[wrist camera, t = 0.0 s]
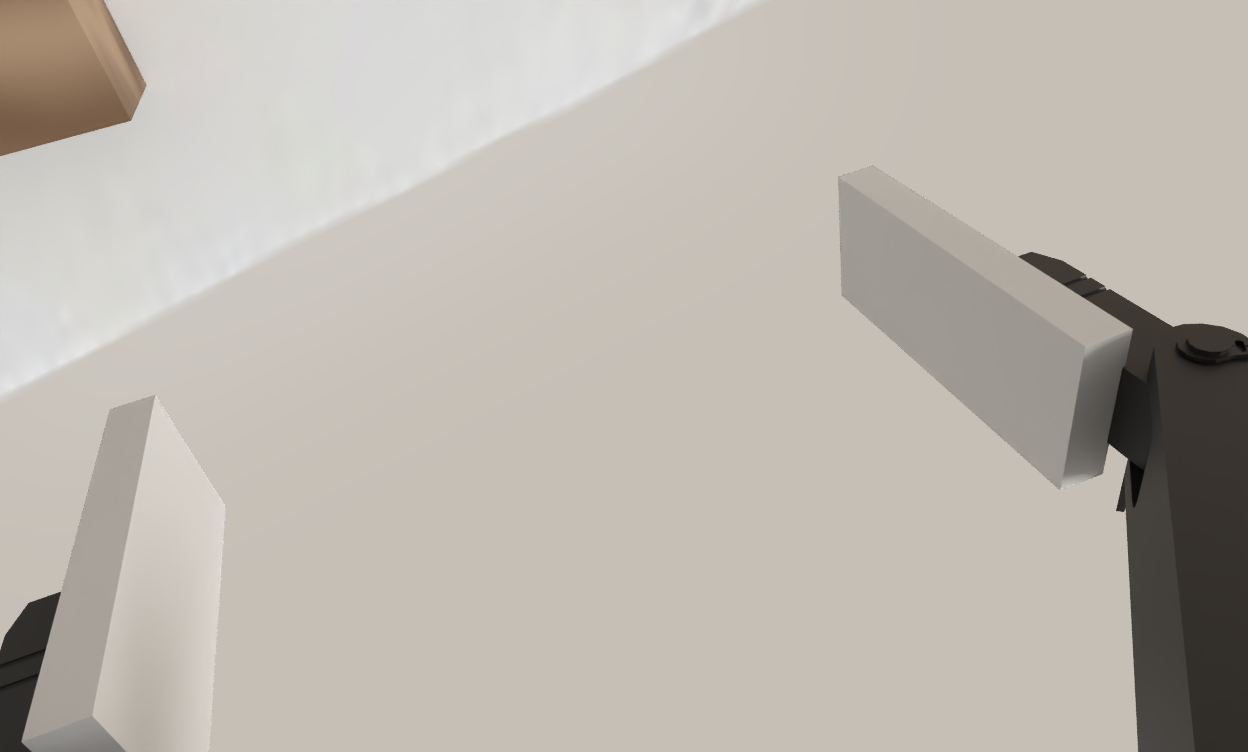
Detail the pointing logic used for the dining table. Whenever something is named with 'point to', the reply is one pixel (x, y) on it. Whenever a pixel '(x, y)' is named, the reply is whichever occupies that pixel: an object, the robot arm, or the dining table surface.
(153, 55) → the dining table surface
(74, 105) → the walnut block
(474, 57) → the dining table surface
